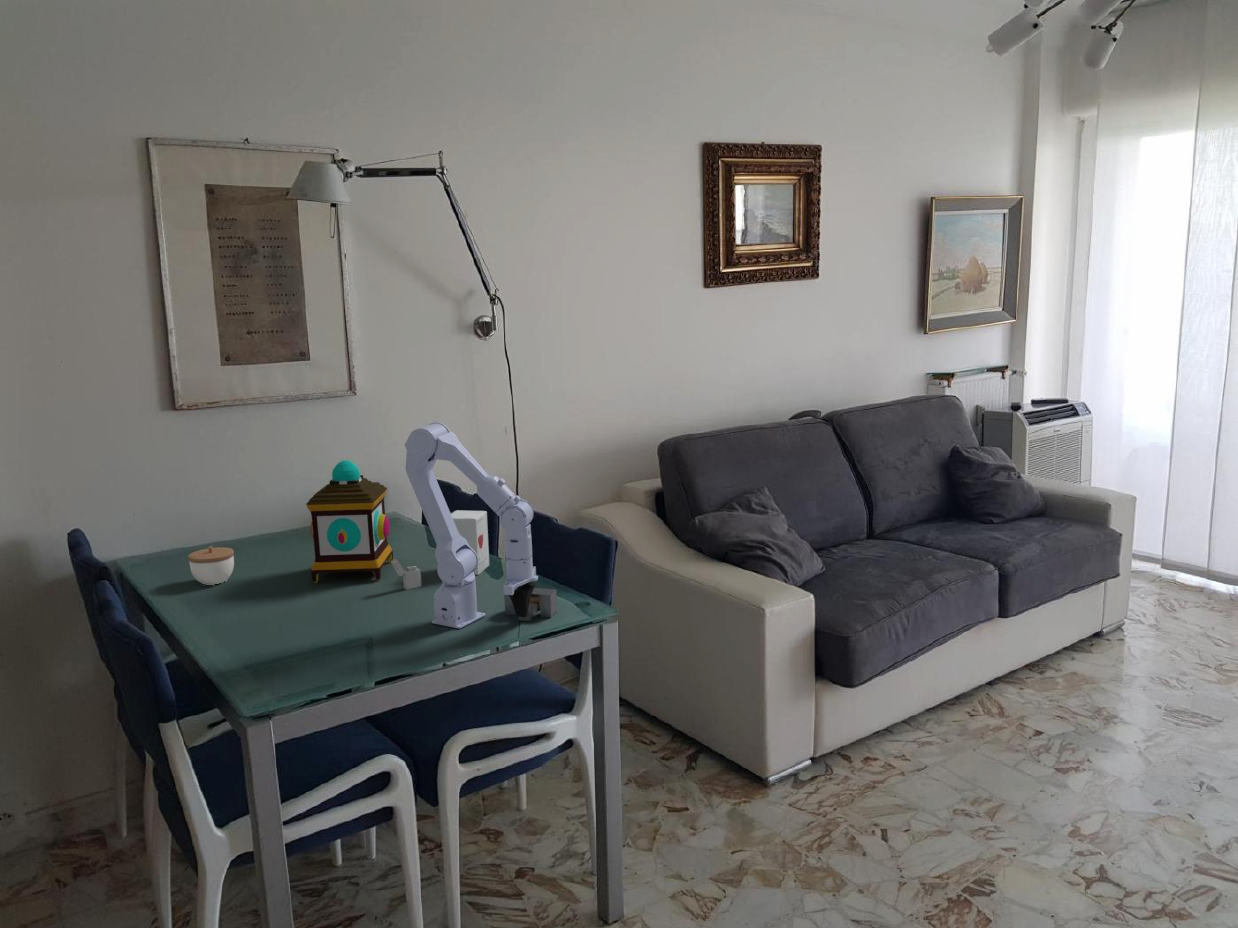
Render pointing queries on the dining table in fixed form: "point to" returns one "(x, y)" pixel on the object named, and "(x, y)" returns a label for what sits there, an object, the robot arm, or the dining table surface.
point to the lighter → (408, 575)
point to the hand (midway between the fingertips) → (521, 615)
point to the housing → (546, 602)
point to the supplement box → (474, 534)
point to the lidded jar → (212, 564)
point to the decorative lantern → (349, 524)
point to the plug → (531, 608)
